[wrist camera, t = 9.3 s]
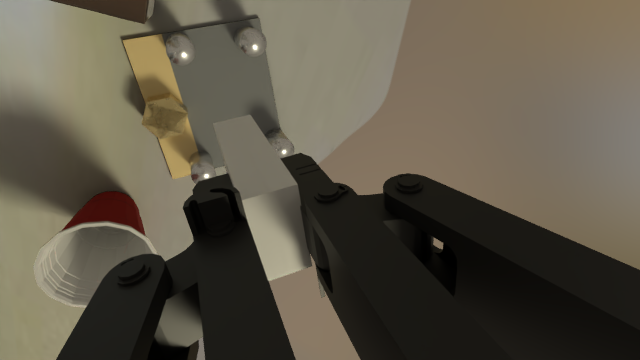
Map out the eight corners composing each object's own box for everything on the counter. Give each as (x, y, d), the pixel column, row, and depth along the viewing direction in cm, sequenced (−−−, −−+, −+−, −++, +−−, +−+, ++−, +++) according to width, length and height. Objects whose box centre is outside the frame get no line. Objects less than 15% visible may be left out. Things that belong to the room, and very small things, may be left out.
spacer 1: (170, 60, 42) (170, 67, 38) (162, 34, 41) (161, 38, 36) (195, 56, 43) (198, 62, 38) (188, 30, 41) (190, 34, 37)
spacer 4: (266, 149, 50) (274, 163, 46) (261, 130, 49) (270, 143, 45) (285, 144, 51) (295, 157, 47) (282, 125, 50) (292, 137, 46)
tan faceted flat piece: (149, 135, 44) (148, 142, 42) (136, 99, 42) (134, 104, 40) (192, 125, 45) (193, 131, 43) (181, 90, 43) (182, 94, 41)
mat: (173, 177, 48) (173, 179, 47) (122, 40, 39) (122, 40, 39) (283, 149, 51) (284, 150, 51) (258, 17, 43) (259, 17, 43)
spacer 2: (193, 171, 48) (195, 188, 44) (186, 152, 47) (188, 167, 43) (214, 166, 49) (218, 182, 45) (208, 147, 48) (212, 161, 43)
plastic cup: (130, 259, 50) (120, 324, 40) (45, 224, 45) (8, 291, 35) (177, 199, 49) (179, 251, 39) (96, 156, 43) (73, 204, 33)
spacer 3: (236, 53, 44) (243, 58, 40) (231, 28, 43) (237, 31, 38) (259, 48, 45) (268, 54, 40) (254, 24, 43) (263, 26, 39)
